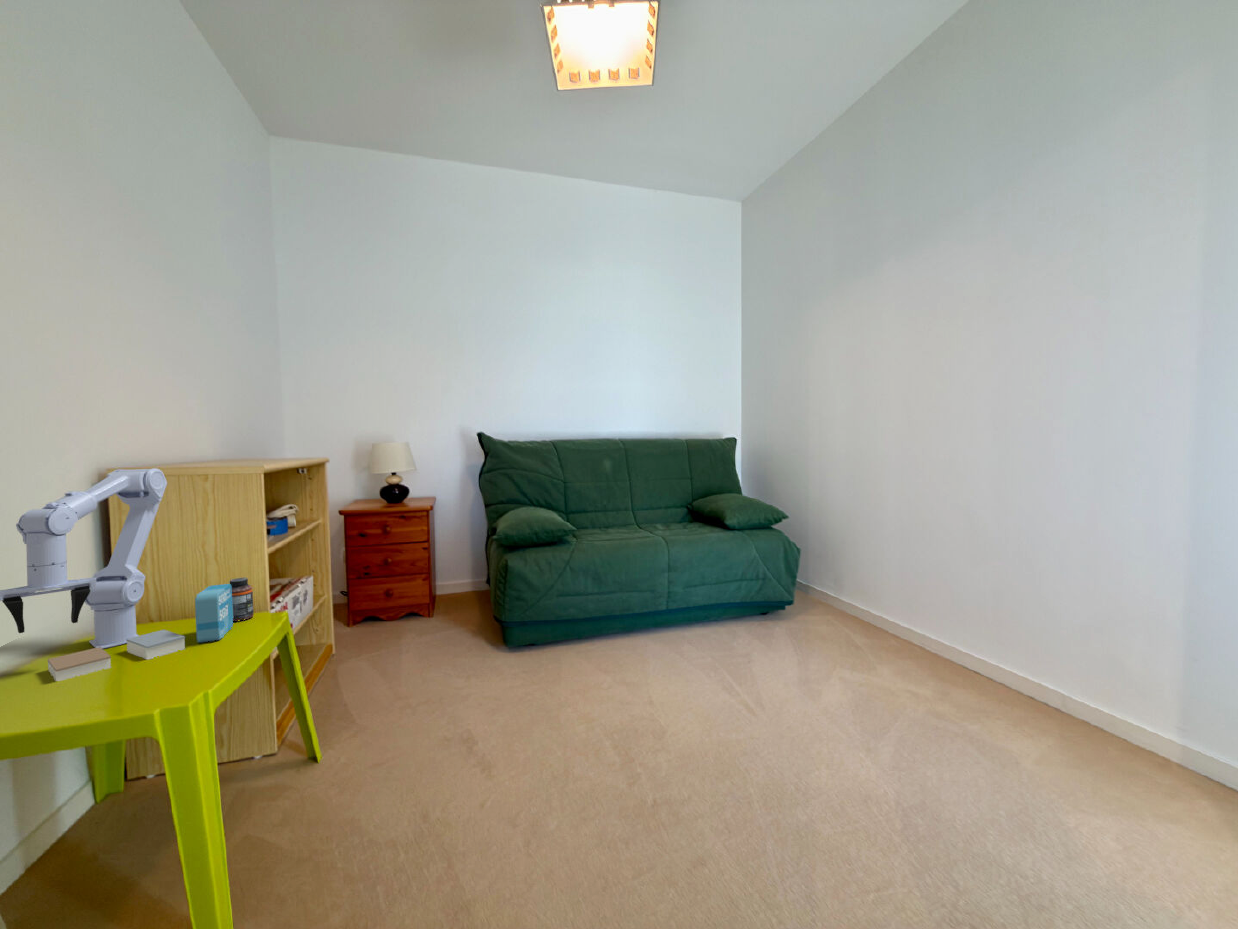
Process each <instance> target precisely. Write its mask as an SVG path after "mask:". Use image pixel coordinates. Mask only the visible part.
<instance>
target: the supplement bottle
mask: <svg viewBox="0 0 1238 929" xmlns="http://www.w3.org/2000/svg"><path fill="white" fill-rule="evenodd" d="M229 584H231V587H232V607H233V621H238V620H244V619H248V620H250V619H251V617H252V618H254V599H253V598H254V597H253V594H254V593H253V586H252V585H250V584H249V582H248V578H247V577H237V578H233V579H230V580H229ZM249 618H250V619H249Z"/></svg>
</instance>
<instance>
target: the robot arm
mask: <svg viewBox="0 0 1238 929" xmlns="http://www.w3.org/2000/svg"><path fill="white" fill-rule="evenodd" d="M167 485H168V481H167V478H166V476H165V474H164V472H163V471H162V470H161V469H159V468H142V469H141V468H139V469H137V468H136V469H135V468H134V469H124V468H123V469H121V468H119V469H115V470H113V471H112V472H108V473H107V474H106V477H105V478H104V479H102V480H101V481H98V482H97V483H96V484H95V485H93V486H91V487H90V488H88V489H87V490H85V491H82V490H73V491H72V490H70V491H67V492H65V493H64V495H63V496H62V497H60V498H59V499H57V500H54V501H49V502H48V503H46V504H45V505H44V506H43V507H41V508H36V509H35V508H34V509H29V510H27V511H26V512H25V513H23V514H22V515H21V516H20V517H19V519H18V521H17V522H18V523H17V522H16V524H15V526H16V530H17V532H18V533H19V534H21V536H22V543H24V544H25V546H26V580H27V581H26V582H27V585H26V586H20V587H19V586H18V587H12V588H8V589H1V590H0V602H2V604H4V605H5V607H6V609H7V610H8V611H9V613H10V614H11V616H12V618H13V619H14V622H15V624H16V627H17V632H18V634H23V633H25V621H24V601H23V598H25V597H26V598H27V597H34V596H39V595H47V594H53V593H60V592H66V591H70V600H71V602H70V603H71V612H70V621H71V623H72V624H76V623H77V624H78V621H79V615H80V613H81V611H82V608H83V607H84V606H83V605H84V604H86V605H87V606H89V607H90V610H91V611H92V610H93V613H94V615H93V616H94V617H93V623H94V624H93V625H94V639H91V640H89V641H88V642H89V643H90V644H91V646H93V647H94V648H98V647H101V648H102V649H103V650H104V649H107V648H112V647H116V646H120V645H125V644H127V641H126V639H128V638H132V637H136V636H140V635H139V634H138V633H137V619H136V618H137V616H136V604H139V602H140V600H141V598H142V597H143V595H144V592H145V581H146V575H145V574H144V573H143V572H141V571H140V570H139V569H138V566H139V563H140V560H141V557H142V555H143V553H144V549H145V546H146V543H147V540H148V538H149V535H150V532H151V530H152V527H153V525H154V521H155V518H156V515H157V513H158V511H159V507H160V503H161V502H162V499H163V496H164V493H165V491H166V488H167ZM114 495H116V496H117V498H119V500H120V501H121V502H122V503H123V504H124V505H125V504H126V505H128V506H129V510H128V513H127V515H126V518H125V520H124V523H123V526H122V528H121V530H120V534H119V536H118V539H117V542H116V543H115V547H114V549H113V552H112V554H111V557H110V559H109V562H108V564H107V566H105V567H104V568H102V569H100V570H99V571H97V572H95V573H94V574H93V576H92V577H90V578H89V577H88V578H86V577H85V578H79V579H69V580H68V566H67V561H68V560H67V533H70V532H71V531H72V530H73V528H74V527H75V524H76V523H77V522H78V521H79V520H81V519H83V518H84V517H86V516H88V515H89V514H91V513H93V512H95V511H96V510H97V508H98V503H101V502H102V501H104V500H106V499H109V498H110V497H112V496H114Z"/></svg>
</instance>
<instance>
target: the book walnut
mask: <svg viewBox="0 0 1238 929" xmlns="http://www.w3.org/2000/svg"><path fill="white" fill-rule="evenodd" d="M111 659H112V656H111V655H110V654H109V653H107V651H105V650H104V649H102V648H101V647H98V648H95V647H94V648H90V649H86V650H82V651H81V650H80V651H76V652H72V653H69V654H64V655H59V656H56V657H51V658H48V659H47V668H48V670H49V671H48V673H49V672H50V673H51V674H50V673H49V674H50V676H51V677H52V676H53V677H54V678H53V677H52V678H53V680H54V681H55V682H56V681H58V682H61V681H65V680H68V678H69V679H72V678H76V677H75V676H77V677H81V676H84V675H88V673H89V674H92V673H96V672H99V670H100V671H103V670H102V669H104V670H108V669H110V668H112V666H111V665H112V664H111V663H112V662H111ZM95 671H96V672H95ZM91 672H92V673H91ZM80 675H81V676H80Z"/></svg>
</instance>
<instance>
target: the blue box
mask: <svg viewBox="0 0 1238 929" xmlns="http://www.w3.org/2000/svg"><path fill="white" fill-rule="evenodd" d="M194 601H195V602H194V605H195V606H194V607H195V608H194V609H195V627H196V628H195V631H196V632H195V633H196V641H197V643H207V642H208V641H209V642H215V640H216V641H221V640H222V639H223V638H224V637H225V636H226V635H227V634H228V633H229V632H230V631H229V630H232V628H233V626H234V625H233V624H234V622H233V607H232V587H231V584H230V583H224V584H223V583H222V584H214V585H209V586H207V587H205V589H203V590H202V591H200V592H199V593H197V594H196V596H195V599H194ZM231 627H232V628H231ZM228 631H229V632H228ZM227 632H228V633H227ZM226 633H227V634H226ZM225 634H226V635H225ZM224 635H225V636H224ZM221 638H222V639H221ZM220 639H221V640H220Z"/></svg>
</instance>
